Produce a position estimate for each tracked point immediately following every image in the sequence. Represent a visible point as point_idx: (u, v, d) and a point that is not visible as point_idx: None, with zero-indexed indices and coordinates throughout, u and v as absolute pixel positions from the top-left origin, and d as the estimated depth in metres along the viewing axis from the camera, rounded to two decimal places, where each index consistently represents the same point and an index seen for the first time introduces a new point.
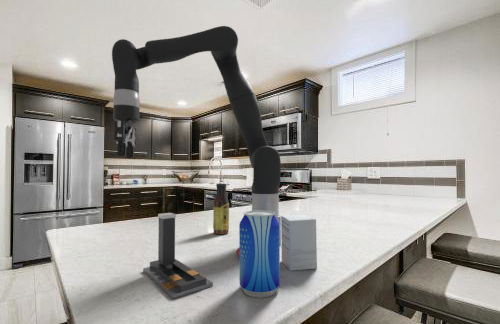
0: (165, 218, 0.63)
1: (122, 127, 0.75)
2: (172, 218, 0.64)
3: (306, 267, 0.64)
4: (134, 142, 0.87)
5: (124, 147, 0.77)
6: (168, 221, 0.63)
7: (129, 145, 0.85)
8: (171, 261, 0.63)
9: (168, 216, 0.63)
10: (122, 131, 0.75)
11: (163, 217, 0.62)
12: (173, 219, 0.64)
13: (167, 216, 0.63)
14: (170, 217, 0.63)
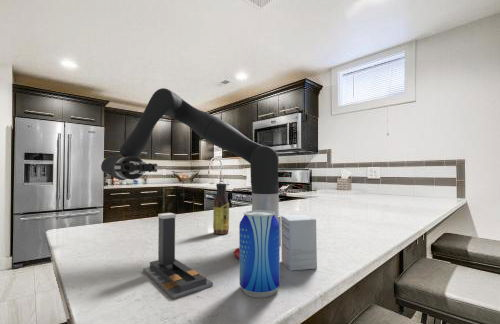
0: (165, 218, 0.63)
1: (155, 170, 0.81)
2: (172, 218, 0.64)
3: (306, 267, 0.64)
4: None
5: None
6: (168, 221, 0.63)
7: None
8: (171, 261, 0.63)
9: (168, 216, 0.63)
10: (154, 170, 0.80)
11: (163, 217, 0.62)
12: (173, 219, 0.64)
13: (167, 216, 0.63)
14: (170, 217, 0.63)
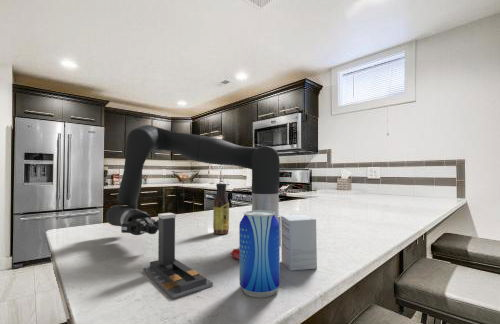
0: (165, 218, 0.63)
1: None
2: (172, 218, 0.64)
3: (306, 267, 0.64)
4: None
5: None
6: (168, 221, 0.63)
7: None
8: (171, 261, 0.63)
9: (168, 216, 0.63)
10: None
11: (163, 217, 0.62)
12: (173, 219, 0.64)
13: (167, 216, 0.63)
14: (170, 217, 0.63)
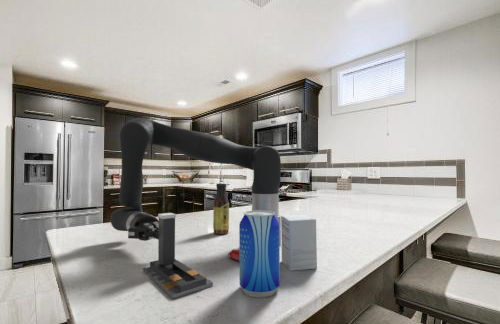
0: (165, 218, 0.63)
1: None
2: (172, 218, 0.64)
3: (306, 267, 0.64)
4: None
5: None
6: (168, 221, 0.63)
7: None
8: (171, 261, 0.63)
9: (168, 216, 0.63)
10: None
11: (163, 217, 0.62)
12: (173, 219, 0.64)
13: (167, 216, 0.63)
14: (170, 217, 0.63)
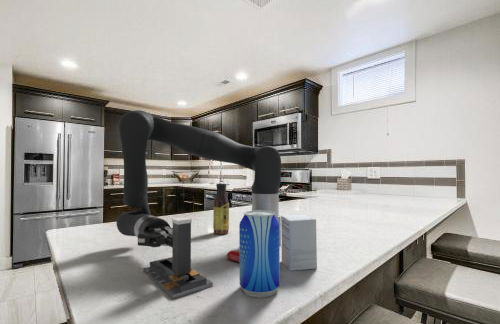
0: (180, 223, 0.56)
1: None
2: (188, 223, 0.57)
3: (306, 267, 0.64)
4: None
5: None
6: (183, 227, 0.57)
7: None
8: (187, 271, 0.57)
9: (183, 221, 0.56)
10: None
11: (178, 222, 0.56)
12: (189, 224, 0.57)
13: (182, 221, 0.56)
14: (186, 222, 0.57)
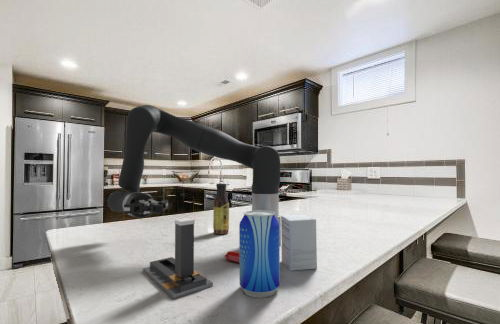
0: (183, 224, 0.55)
1: (166, 208, 0.76)
2: (191, 224, 0.56)
3: (306, 267, 0.64)
4: None
5: None
6: (186, 228, 0.55)
7: None
8: (190, 273, 0.56)
9: (186, 222, 0.55)
10: (165, 208, 0.75)
11: (181, 223, 0.55)
12: (192, 225, 0.56)
13: (185, 222, 0.55)
14: (189, 223, 0.56)
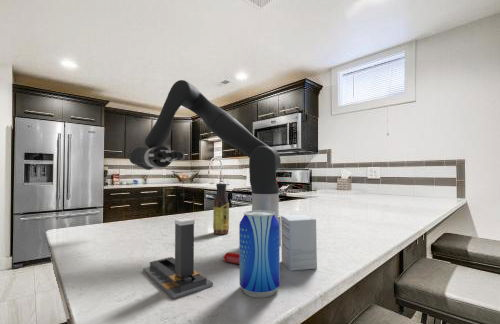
0: (183, 224, 0.55)
1: (183, 158, 0.88)
2: (191, 224, 0.56)
3: (306, 267, 0.64)
4: None
5: None
6: (186, 228, 0.55)
7: None
8: (190, 273, 0.56)
9: (186, 222, 0.55)
10: (182, 158, 0.87)
11: (181, 223, 0.55)
12: (192, 225, 0.56)
13: (185, 222, 0.55)
14: (189, 223, 0.56)
